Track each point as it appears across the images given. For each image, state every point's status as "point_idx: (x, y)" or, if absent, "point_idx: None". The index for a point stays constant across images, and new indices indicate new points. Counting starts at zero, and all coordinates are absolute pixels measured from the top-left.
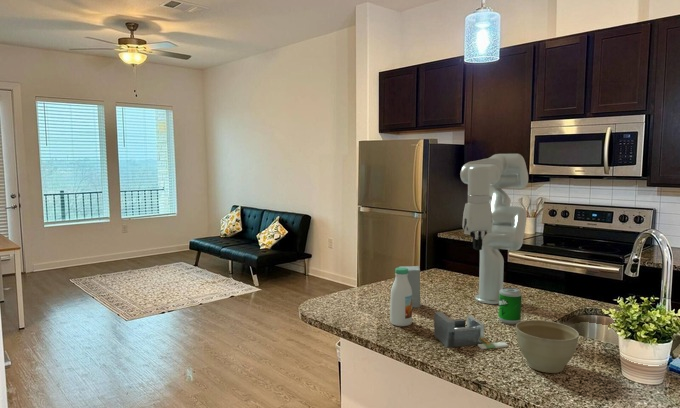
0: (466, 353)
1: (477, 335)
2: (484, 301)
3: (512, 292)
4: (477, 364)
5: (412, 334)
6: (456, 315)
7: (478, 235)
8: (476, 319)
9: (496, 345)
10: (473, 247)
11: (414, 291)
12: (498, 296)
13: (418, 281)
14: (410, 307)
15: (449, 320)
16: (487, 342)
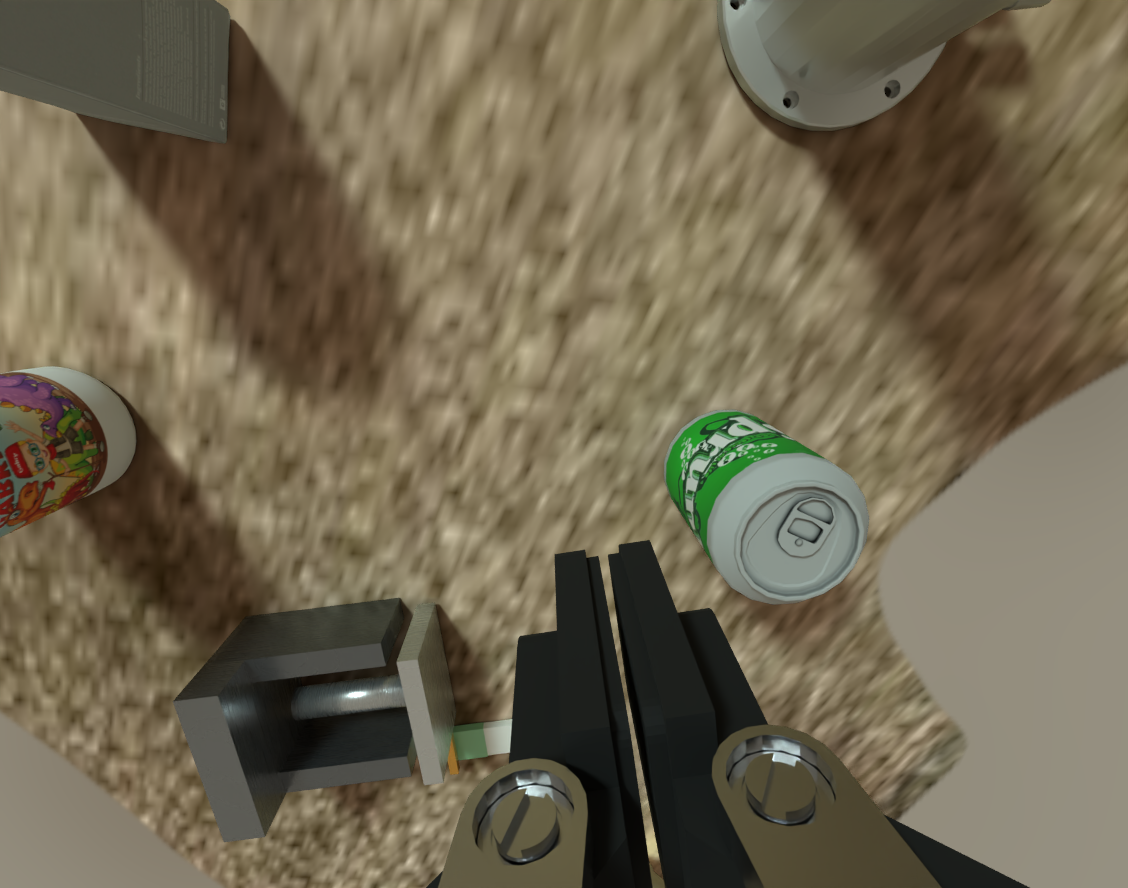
0: (350, 786)
1: (415, 751)
2: (747, 85)
3: (775, 596)
4: (364, 862)
5: (135, 592)
6: (450, 329)
7: (752, 874)
8: (428, 721)
9: (495, 750)
10: (557, 562)
11: (83, 106)
12: (874, 79)
13: (39, 84)
14: (41, 513)
15: (240, 815)
16: (452, 764)
